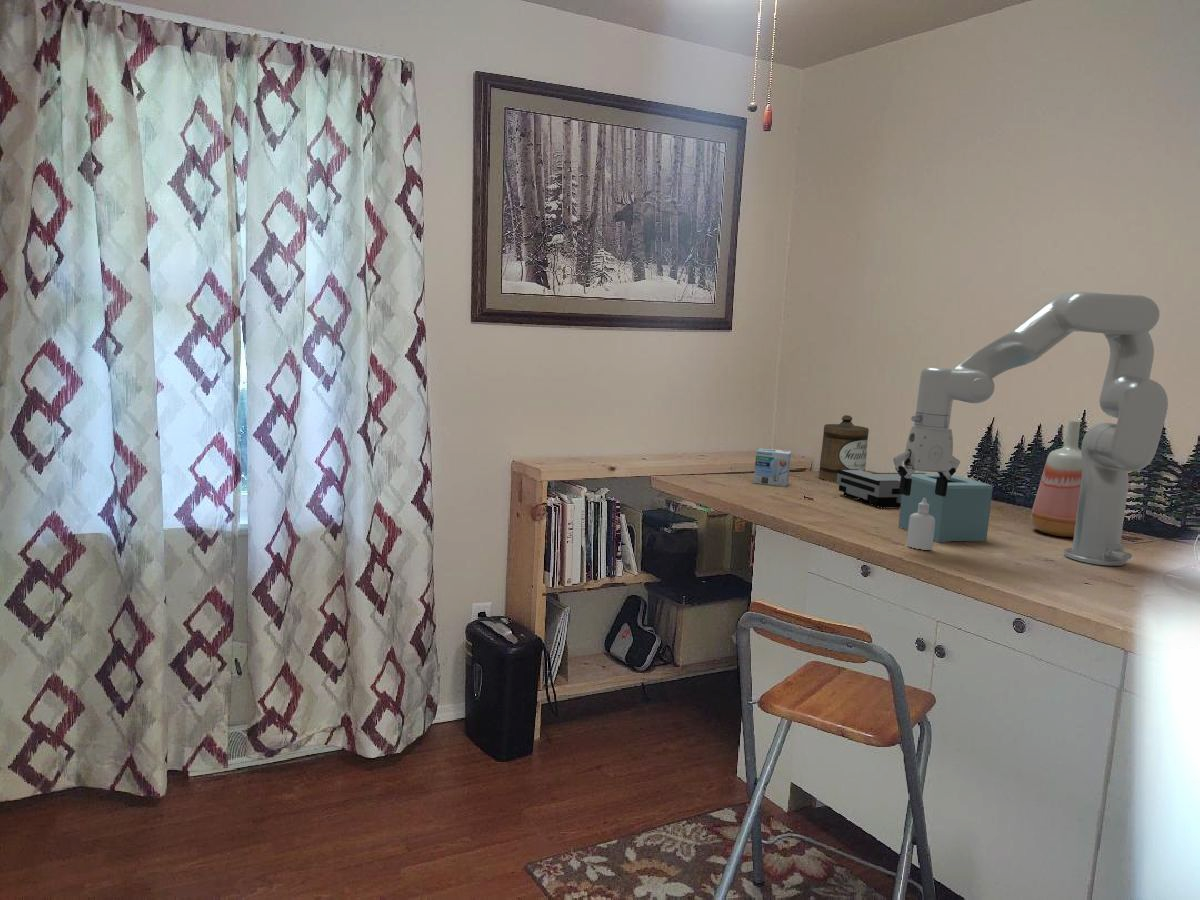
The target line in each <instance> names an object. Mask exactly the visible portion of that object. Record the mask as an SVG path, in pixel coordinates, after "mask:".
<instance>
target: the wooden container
mask: <svg viewBox="0 0 1200 900" xmlns="http://www.w3.org/2000/svg"><path fill="white" fill-rule="evenodd" d="M841 420H842V421H841V422H840V423H838V424H837V423H828V424H824V426H823V436H822V443H821V444H822V445H821V452H820V459H819V471H818V478H819V479H820V478H821V480H822V479H824V480H823V481H826V480H829V481H828V482H830V481H835V482H834V483H837V472H838V469H858V470H862V471H865V472H866V466H867V455H868V454H867V452H868V450H867V449H868V439H869V430H870V429H869V428H868V427H866V426H860V425H854V424H853V422H852V421H853V417H852V416H851V415H848V414H847V415H845V414H844V415H843V416H842V417H841Z"/></svg>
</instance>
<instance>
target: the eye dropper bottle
mask: <svg viewBox="0 0 1200 900" xmlns="http://www.w3.org/2000/svg"><path fill="white" fill-rule="evenodd" d="M928 513H929V504H928V503H927V501H926V498H923V500H922V502H921V503H919V504H918V513H913V514H911V515H910V519H909V527H908V531H907V535H906V536H907V537H906V546H907V547H908V546H909V547H908V548H910V547H912V548H911V549H913V548H916V549H915V550H917V549H922V550H921V551H923V550H930V551H931V550H933V546H934V545H933V544H934V541H933V538H934V529H935V518H934V517H933V516H931V515H929V514H928Z"/></svg>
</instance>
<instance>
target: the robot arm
mask: <svg viewBox="0 0 1200 900" xmlns="http://www.w3.org/2000/svg"><path fill="white" fill-rule="evenodd" d="M1159 319H1160V308H1159V307H1158V304H1157V303H1156V302H1155V301H1154V300H1153V299H1152V298H1150V297H1148V296H1145V295H1139V294H1138V295H1137V294H1135V295H1134V294H1121V293H1120V294H1117V293H1100V292H1086V291H1085V292H1084V291H1083V292H1082V291H1081V292H1066V293H1062V294H1059V295H1057V296H1055V297H1053V298H1052V299H1050V300H1049V301H1048V302H1046V303H1045V304H1044V305H1043V306H1042V307H1040V308H1039V309H1037V310H1036V311H1035V312H1033V313H1032V314H1031V315H1030V316H1029V317H1027V318H1026V319H1024V320H1023V321H1022V322H1020V324H1018V325H1017V326H1016V327H1014V328H1013V329H1012V330H1010V331H1009V332H1007V333H1005V334H1004V335H1002V336H1000V337H998V338H997V339H995V340H994V341H992V342H990V343H989V344H987V345H985V346H984V347H982V348H980V349H978V350H977V351H976V352H974V353H972V354H971V355H969V357H968V358H966V359H965V360H963V361H962V362H961V363H960V364H958V365H956V367H954V368H953V369H952V368H951V369H950V368H946V367H938V366H937V367H936V366H927V367H924V368H922V370H921V372H920V378H919V386H918V393H917V400H916V409H915V414H914V415H912V416H911V418H910V419H911V421H912V422H913V423H914V424H913V425H912V426H911V428H910V430H909V435H908V438H907V441H906V446H905V451H904V452H902V453H900V454H899V455H896V456H895V457H893V459H892V461H893V464H894V467H895V468H894V469H895V470H896V473H899V476H901V480H900V487H899V489H900V491H899V493H900V494H903V495H906V496H909V495H910V491H911V484H912V479H911V478H910V477H911V475H912V474H913V473H916V471H918V472H922V473H927V472H929V473H936V474H938V475H939V476H940V477H937V480H936V488H935V494H936V495H940V496H943V497H945V496H946V491H947V485H948V480H950V479H951V476H952V475H955V473H956V472H957V469H958V467H959V466H960V464H961V460H959V459H958V458H957V457H955V456H954V455H953V453H954V438H953V430H952V428H950V423H951V416H952V407H953V401H961V402H965V403H969V404H981V403H984V402H986V401H987V400H989V399H990V398H991V397H992V396H993V394H994V392H995V387H996V386H995V385H996V384H995V382H994V378H996V377H997V376H999V375H1000V374H1002V373H1005V372H1007V371H1009V370H1012V369H1015V368H1016V369H1017V368H1019V367H1022V366H1027V364H1030V363H1032V362H1034V361H1035V362H1036V361H1037V360H1038V359H1040V358H1041V357H1042V356H1044V354H1047V352H1048V351H1050V350H1051V349H1052V348H1054V347H1055V346H1056V345H1058V344H1059V343H1060V342H1061V341H1063V340H1064V339H1065V338H1067V337H1068V336H1070V335H1071V334H1072V333H1074V332H1083V333H1084V332H1087V333H1093V334H1094V333H1096V334H1098V333H1099V334H1103V335H1104V337H1105V339H1106V340H1107V343H1108V347H1109V359H1108V364H1107V367H1106V372H1105V376H1104V380H1103V384H1102V387H1101V391H1100V395H1099V407H1100V409H1101V410H1102V412H1104V414H1105V415H1108V416H1109V417H1112V418H1115V419H1117V420H1116V421H1117V422H1116V423H1112V422H1111V423H1109V422H1105V423H1099V424H1095V425H1094V426H1092V427H1090V428H1089V429H1088V430H1087V431H1086V432H1085V434H1084V436H1083V437H1082V438H1083V439H1082V442H1081V449H1080V450H1081V451H1082V477H1081V486H1080V493H1079V501H1078V508H1077V516H1076V524H1075V531H1074V537H1073V539H1072V546H1071V547H1067V548H1065V549H1064V550H1063V554H1064V556H1065V557H1067V558H1068V559H1072V560H1074V561H1077V562H1081V563H1086V564H1092V565H1097V566H1099V565H1100V566H1109V567H1110V566H1111V567H1112V566H1113V567H1114V566H1115V567H1117V566H1120V567H1121V566H1124V565H1125V564H1126V563H1127V561H1128V560H1130V559H1131V558H1132V556H1133V554H1132V553H1130V552H1127V551H1124V547H1125V545H1124V544H1122V543H1121V540H1122V536H1123V535H1122V534H1123V526H1124V522H1125V521H1124V520H1125V519H1124V518H1125V514H1126V513H1125V512H1126V505H1127V498H1128V492H1129V474H1128V473H1129V472H1138V471H1140V470H1143V469H1144V468H1146V467H1147V466H1148V465H1149V464H1150V463H1151V462H1152V461H1153V459H1154V457H1155V455H1156V453H1157V449H1158V447H1159V444H1160V440H1161V436H1162V432H1163V429H1164V424H1165V422H1166V417H1167V415H1168V414H1167V413H1168V408H1169V400H1168V394H1167V392H1166V390H1165V389H1164V387H1163V386H1162V385H1161V384H1160V383H1158V382H1157V381H1155V380H1153V379H1150V377H1151V372H1152V367H1153V363H1154V356H1155V348H1154V342H1153V339H1152V337H1151V333H1150V331H1152V329H1154V328H1155V327H1156V325H1157V323H1158V322H1159Z"/></svg>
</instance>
